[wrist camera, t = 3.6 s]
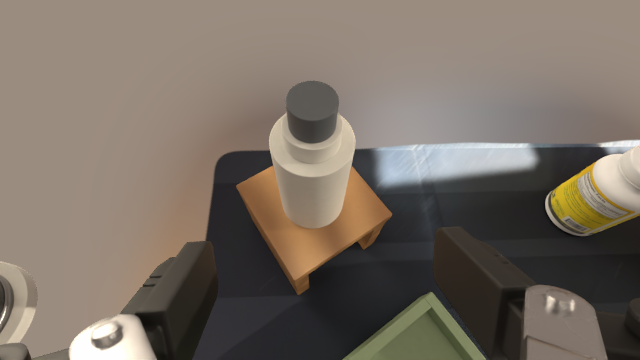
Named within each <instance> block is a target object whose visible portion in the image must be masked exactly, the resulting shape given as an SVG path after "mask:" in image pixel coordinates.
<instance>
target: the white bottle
mask: <svg viewBox="0 0 640 360" xmlns="http://www.w3.org/2000/svg"><path fill="white" fill-rule="evenodd" d="M285 102H286V111H287V112H286V113H285V115H284V116H283V117H281V118H280V119H279V120H278V121H277V122H276V124H275V125H274V127H273V128H272V131H271V133H270V138H269V147H270V152H271V156H272V161H273V165H274V170H275V174H276V179H277V183H278V188H279V192H280V197H281V201H282V206H283V209H284V212H285V214H286V215H287V217H288V218H289V219H290V220H291V221H292V222H293V223H295V224H296V225H298V226H301V227H304V228H309V229H316V228H321V227H324V226H327V225H329V224H330V223H332V222H333V221H334V220H335V219H336V218H337V217H338V216H339V214H340V212H341V210H342V207H343V202H344V198H345V193H346V188H347V183H348V179H349V174H350V169H351V164H352V159H353V155H354V150H355V135H354V132H353V129H352V128H351V126H350V124H349V123H348V122H347V121H346V120H345V119H344V118H343V117H342V116H340V115H339V113H338V105H339V99H338V95H337V93H336V92H335V90H334V89H333V88H332V87H330V86H329V85H327V84H325V83H322V82H318V81H306V82H302V83H299V84H297V85H295V86H294V87H292V88H291V89H290V91H289V92H288V94H287V96H286V101H285Z"/></svg>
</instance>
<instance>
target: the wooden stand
mask: <svg viewBox="0 0 640 360" xmlns="http://www.w3.org/2000/svg"><path fill="white" fill-rule="evenodd" d="M236 187H237V189H238V191H239V193H240V195H241V197H242V199H243V201H244V203H245V205H246V207H247V209H248V211H249V213H250V215H251V218H252V220H253V222H254V224H255V225H256V227H257V229H258V230H259V232H260V233H261V235H262V237H263V238H264V240H265V242H266V243H267V245H268V247H269V248H270V250H271V252H272V253H273V255H274V257H275V258H276V260H277V261H278V263H279V265H280V266H281V268H282V270H283V271H284V273H285V275H286V276H287V278H288V280H289V281H290V283H291V285H292V286H293V288H294V290H295V291H296V293H297V294H298V295H300V294H301V293H302V292H304V291H305V290H307V289H308V288H309V278H308V274H310V273H311V272H312V271H314V270H315V269H317V268H318V267H320V266H321V265H323V264H324V263H326V262H327V261H329V260H330V259H332V258H333V257H334V256H336V255H337V254H339V253H340V252H342V251H343V250H345V249H346V248H348V247H349V246H351V245H352V244H353V243H355V242H356V241H357V242H358V243H359V244H360V246H361V247H362V248H363V250H364V249H365V248H367V247H368V246H370V245H371V244H373V242H374V241H375V239H376V237H377V236H378V234H379V232H380V230H381V229H382V227H383V225H384V224H385V222H386V221H387V220H389V219H390V218H391V216H392V213H391V212H390V211H389V210H388V209H387V207H386V206H385V205H384V204H383V203H382V202H381V200H380V199H379V198H378V197H377V196H376V194H375V193H374V192H373V191H372V190H371V188H370V187H369V186H368V185H367V184H366V182H365V181H364V180H363V179H362V178H361V177H360V175H359V174H358V173H357V172H356V171H355V169H354V168H353V167H352V166H351V169H350V174H349V179H348V183H347V188H346V193H345V198H344V202H343V207H342V210H341V212H340V214H339V216H338V217H337V218H336V219H335V220H334V221H333V222H332V223H330V224H329V225H327V226H324V227H321V228H316V229H309V228H304V227H301V226H298V225H296V224H295V223H293V222H292V221H291V220H290V219H289V218H288V217H287V215H286V214H285V212H284V209H283V206H282V201H281V197H280V192H279V188H278V183H277V179H276V174H275V170H274V165H273V166H272V167H270V168H268V169H266V170H264V171H262V172H260V173H259V174H257V175H255V176H253V177H251V178H249V179H248V180H246V181H244V182H242V183H240V184H238V185H237V186H236Z"/></svg>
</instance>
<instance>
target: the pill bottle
mask: <svg viewBox="0 0 640 360" xmlns="http://www.w3.org/2000/svg"><path fill="white" fill-rule="evenodd" d="M545 207H546V211H547V214H548V216H549V217H550V219H551V220H552V222H553V223H554V224H555V225H556V226H557V227H559V228H560V229H562V230H563V231H565V232H567V233H570V234H573V235H577V236H588V235H592V234H594V233H597V232H600V231H602V230H605V229H607V228H610V227H612V226H615V225H617V224H619V223H622V222H624V221H627V220H629V219H632V218H634V217H637V216H639V215H640V145H638V146H636V147H634V148H632V149H630V150H629V151H627V152H625V153H624V154H612V155H608V156H605V157H603V158H601V159H599V160H598V161H596V162H595V163H593V164H592V165H590V166H589V167H587V168H586V169H584V170H582V171H581V172H580V173H578V174H577V175H575V176H574V177H572V178H571V179H569V180H568V181H566V182H565V183H563V184H561V185H560V186H558V187H557V188H555V189H554V190H553V191H551V192H550V193H549V194H548V196H547V198H546V201H545Z"/></svg>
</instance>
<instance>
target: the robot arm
mask: <svg viewBox="0 0 640 360" xmlns="http://www.w3.org/2000/svg"><path fill="white" fill-rule="evenodd" d="M433 275H434V278H435V281H436V283H437V285H438V286H439V288H440V289H441V291H442V292H443V294H444V295H445V296H446V298H447V299H448V301H449V302H450V303H451V305H452V306H453V308H454V309H455V311H456V312H457V313H458V315H459V316H460V318H461V319H462V321H463V322H464V323H465V325H466V326H467V328H468V329H469V331H470V332H471V333H472V335H473V336H474V338H475V339H476V341H477V342H478V343H479V345H480V346H481V348H482V349H483V351H484V352H485V353H486V355H487V356H488V358H489V359H490V360H640V298H636V299H633V300H631V301H630V303H629V306H628V310H627V313H626V315H623V314H616V313H609V312H602V311H595V310H594V309H593V307H592V306H591V305H590V304H589V303H588V302H587V301H586V300H584V299H583V298H581V297H580V296H578V295H576V294H574V293H572V292H570V291H567V290H564V289H561V288H558V287H554V286H548V285H538V284H537V283H536V282H534V281H533V280H532V279H531V278H530V277H528V276H527V275H526V274H525V273H524V272H522V271H521V270H520V269H519V268H517V267H516V266H515V265H514V264H513V263H512V264H511V263H510V261H509V260H508V259H507V258H505V257H504V256H502V254H500V253H499V252H498V251H497V250H496V249H494V248H493V247H492V246H490V245H488V244H486V243H484V242H482V241H480V240H478V239H474V238H473V237H472V236H471V235H470V234H469V233H467V232H466V231H465V230H464V229H463V228H461V227H443V228H438V229H437V230H436V234H435V244H434V257H433ZM217 293H218V278H217V271H216V265H215V258H214V251H213V246H212V243H211V242H210V241H200V242H187V243H186V244H185V245H184V247H183V248H182V250H181V251H180V253H179V254H178V255H177V257H172V258H169V259H168V260H166V261H165V262H164V263H162V264H160V265H159V266H158V267H157V268H156V269H155V270H154V272H153V273H152V274H151V275H150V278H149V279H147V280H146V282H145V283H144V284H143V287H141V288H140V289H139V290H138V291H137V293H136V294H135V295H134V297H133V298H132V299H131V300H130V301H129V303H128V304H127V305H126V306H125V308H124V309H123V310H122V311H121V313H120V314H119V315H116V316H112V317H108V318H105V319H103V320H100V321H98V322H96V323H95V324H93V325H91V326H90V327H88V328H86V329H85V330H84V331H82V332H81V333H80V334H79V335H78V336H77V337H76V338H75V339H74V340H73V342H72V344H71V346H70V348H68V349H64V350H61V351H58V352H54V353H50V354H47V355H43V356H40V357H36V358H33V359H31V356H30V354H29V351H28V349H27V347H26V346H25V345H24V344H21V343H8V344H3V345H0V360H192V358H193V355H194V353H195V350H196V348H197V345H198V343H199V340H200V338H201V335H202V333H203V330H204V328H205V325H206V323H207V320H208V318H209V315H210V313H211V310H212V308H213V305H214V303H215V300H216V297H217ZM13 303H14V294H13V289H12V287H11V284H10V283H9V282H8V280H7V279H6V278H4V277H3V276H1V275H0V333H1V332H2V330H3V329H4V327H5V325H6V324H7V322H8V320H9V317H10V315H11V312H12V308H13Z"/></svg>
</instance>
